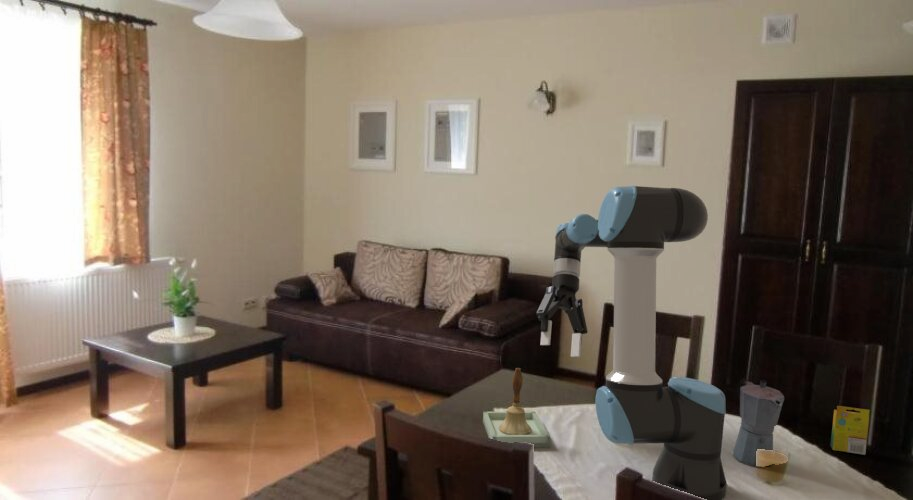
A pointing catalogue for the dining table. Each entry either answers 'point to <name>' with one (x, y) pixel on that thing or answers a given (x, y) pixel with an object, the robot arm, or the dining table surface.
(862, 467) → the dining table surface
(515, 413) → the hand bell
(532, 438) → the tray
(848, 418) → the crayon box
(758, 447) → the moka pot
